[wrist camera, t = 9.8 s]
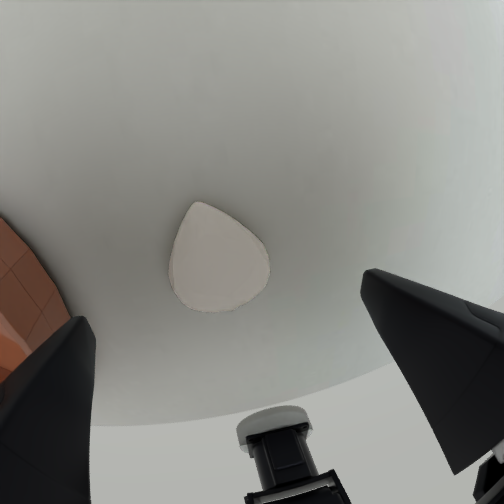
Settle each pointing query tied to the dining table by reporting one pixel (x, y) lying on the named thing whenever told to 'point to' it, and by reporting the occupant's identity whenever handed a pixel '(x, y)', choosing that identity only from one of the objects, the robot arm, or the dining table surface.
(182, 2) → the dining table surface
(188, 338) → the dining table surface
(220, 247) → the garlic clove
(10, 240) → the bowl
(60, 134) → the dining table surface
